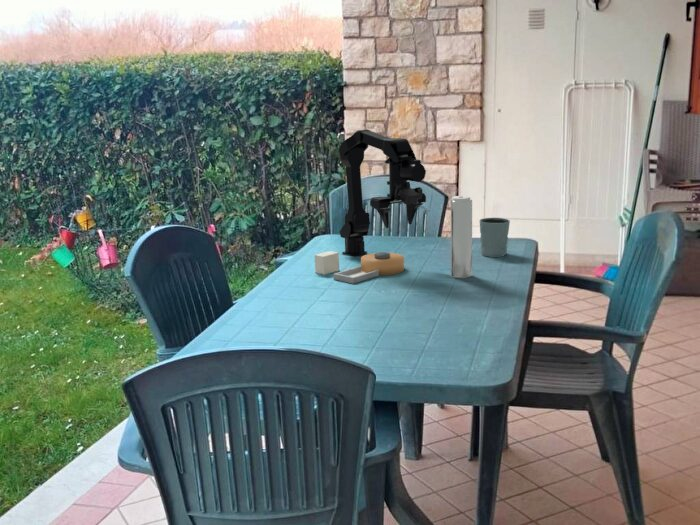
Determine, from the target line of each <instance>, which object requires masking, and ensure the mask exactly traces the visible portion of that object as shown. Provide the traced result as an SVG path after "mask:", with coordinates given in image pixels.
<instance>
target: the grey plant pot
mask: <svg viewBox="0 0 700 525" xmlns="http://www.w3.org/2000/svg"><path fill="white" fill-rule="evenodd" d="M510 222H511V221H510V220H509V219H508V218H502V217H485V218H481V219H479V233H480V254H482V255H481V256H483V257H486V256H489V257H488V258H498V257H497V256H502V257H504V256H503V255H505V256H506V255H507V249H508V248H507V247H508V246H507V245H508V239H509V236H508V235H509V230H510Z"/></svg>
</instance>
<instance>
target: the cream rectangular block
mask: <svg viewBox="0 0 700 525" xmlns="http://www.w3.org/2000/svg"><path fill="white" fill-rule="evenodd" d="M339 254H340V253H339V252H337V251H332V250H331V251H330V250H328V251H324V252H322V253H321V252H320V253H317V254H314V270H315V274H320V275H325V276H326V275H327V274H331V273H336V272H338V271H340V258H339V257H340V255H339Z"/></svg>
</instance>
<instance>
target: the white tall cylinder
mask: <svg viewBox="0 0 700 525" xmlns="http://www.w3.org/2000/svg"><path fill="white" fill-rule="evenodd" d="M450 276H451V277H452V278H455V279H468V278H469V279H470V278H471V277H472V276H473V199H471V196H468V195H454V196H452V197H451V199H450Z"/></svg>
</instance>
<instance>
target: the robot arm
mask: <svg viewBox="0 0 700 525" xmlns="http://www.w3.org/2000/svg"><path fill="white" fill-rule="evenodd" d="M369 147H372V148H375V149H378V150H381V151H382V153H383V155H385V156H386V157H388V158H387V159H386V160H385V161H384V163H385V164H387V165H388V168H389V170H388V176H389V179H388V181H386V185H388V188H389V190H388V191H389V193H386V196H387V197H385V196H384V197H383V196H375V197H372V198H371V199H370V201H369V207H372V208H373V209H375V210H376V211H377V213H378V215H379V216H380V218H381V220H382V222H383V225H384V227H385V229H389V226H390V225H389V224H390V221H389V220H390V218H389V216H390V214H389V213H390V211H391V208H390V205H391V204H400V203H403V204H404V205H405V207H406V208H405V209H406V216H407V223H408V225H412V224H413V221H414V218H415V214H416V212H417V209H419V207H421V206H423V204H424V203H426V202H427V196H426V194H425V193H424V192H423V188H422V187H420V186H417V187H415V188H411V183H410V182H416V183H420V182H422V181H423V180H424V179H425V177H426V174H427V171H426V168H425V166H424V165H423V164H422V163H421V159H417V156H416V154H415V152H414V150H413V148H412V145H411V144H410V142H409V140H408V139H407V138H401V137H399V138H395V137H388V136H385V135H382V134H379V133H377V132H373V131H371V130H369V129H360V130H356V131H355V132H354V133H353V134H352V135H351V136H348V138H346V139H345V140H344V141H342V142H341V143H340V145H339V147H338V153H339V156H340V161H341V163H342V164H343V165H344V167H345V173H346V188H347V203H348V210H347V212H346V213H345V216H344V224H343V226H342V227H341V229H340V230H339V235H340V238H342V239H344V250H345V251H342V254H341V255H348V256H353V257H356V256H361V255H365V254H367V253H368V251H367V250H365V241H364V237H366V236H367V237H368V235H369V234H368V233H369V230H370V226H371V221H370V212H367V211H366V210H365V209H364V204H363V203H364V202H363V189H362V188H363V186H362V175H361V174H362V173H361V166H362V165H363V164H362V163H363V161H364V159H365V151H366V150H367V149H368V148H369Z"/></svg>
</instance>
